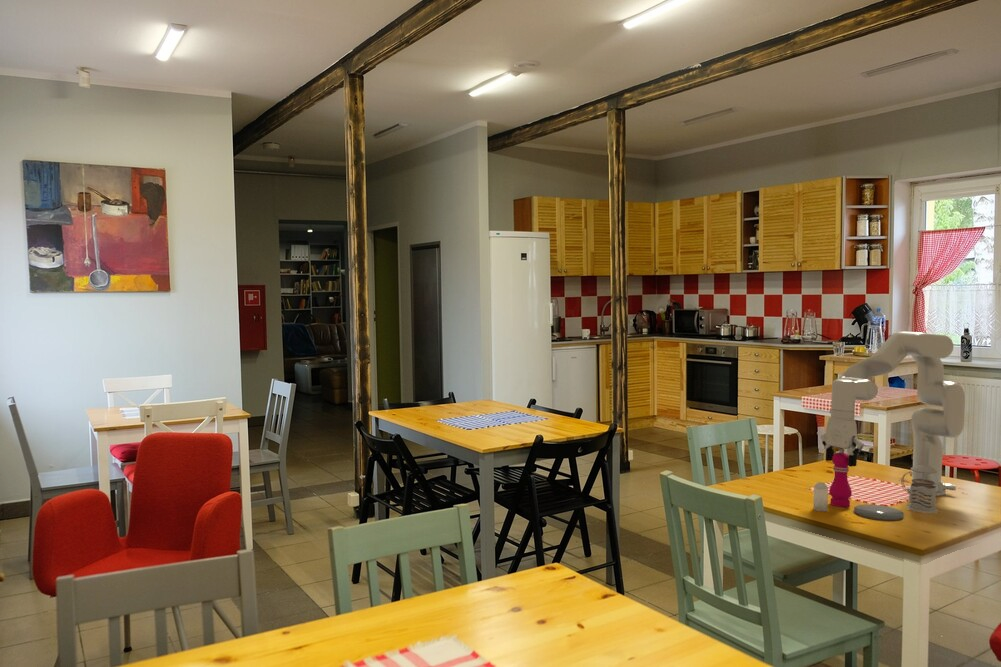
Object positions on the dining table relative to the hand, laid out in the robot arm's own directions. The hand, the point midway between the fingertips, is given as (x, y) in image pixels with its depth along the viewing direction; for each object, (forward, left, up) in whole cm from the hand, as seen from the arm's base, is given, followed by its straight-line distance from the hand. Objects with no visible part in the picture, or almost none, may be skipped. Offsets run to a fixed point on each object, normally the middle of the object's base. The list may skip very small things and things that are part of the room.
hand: (840, 463), depth 269 cm
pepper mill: (0, 0, -15) cm, 15 cm away
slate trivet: (-12, +7, -15) cm, 20 cm away
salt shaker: (+6, +10, -15) cm, 19 cm away
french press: (-25, -7, -15) cm, 30 cm away
